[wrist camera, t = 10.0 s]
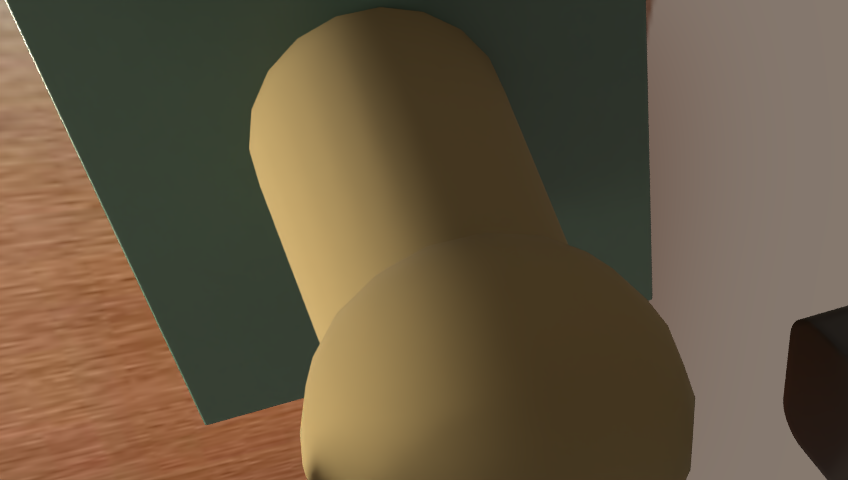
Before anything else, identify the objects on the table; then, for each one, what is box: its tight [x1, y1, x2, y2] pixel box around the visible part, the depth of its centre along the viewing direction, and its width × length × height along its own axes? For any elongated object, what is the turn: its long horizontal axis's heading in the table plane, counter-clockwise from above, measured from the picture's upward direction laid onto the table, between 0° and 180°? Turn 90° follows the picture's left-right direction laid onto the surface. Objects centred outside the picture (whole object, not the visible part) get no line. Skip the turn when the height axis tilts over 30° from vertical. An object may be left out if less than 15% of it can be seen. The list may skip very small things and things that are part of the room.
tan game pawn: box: [249, 7, 695, 480], centre depth 14 cm, size 6×6×11 cm
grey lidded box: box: [5, 0, 652, 425], centre depth 22 cm, size 14×13×9 cm
